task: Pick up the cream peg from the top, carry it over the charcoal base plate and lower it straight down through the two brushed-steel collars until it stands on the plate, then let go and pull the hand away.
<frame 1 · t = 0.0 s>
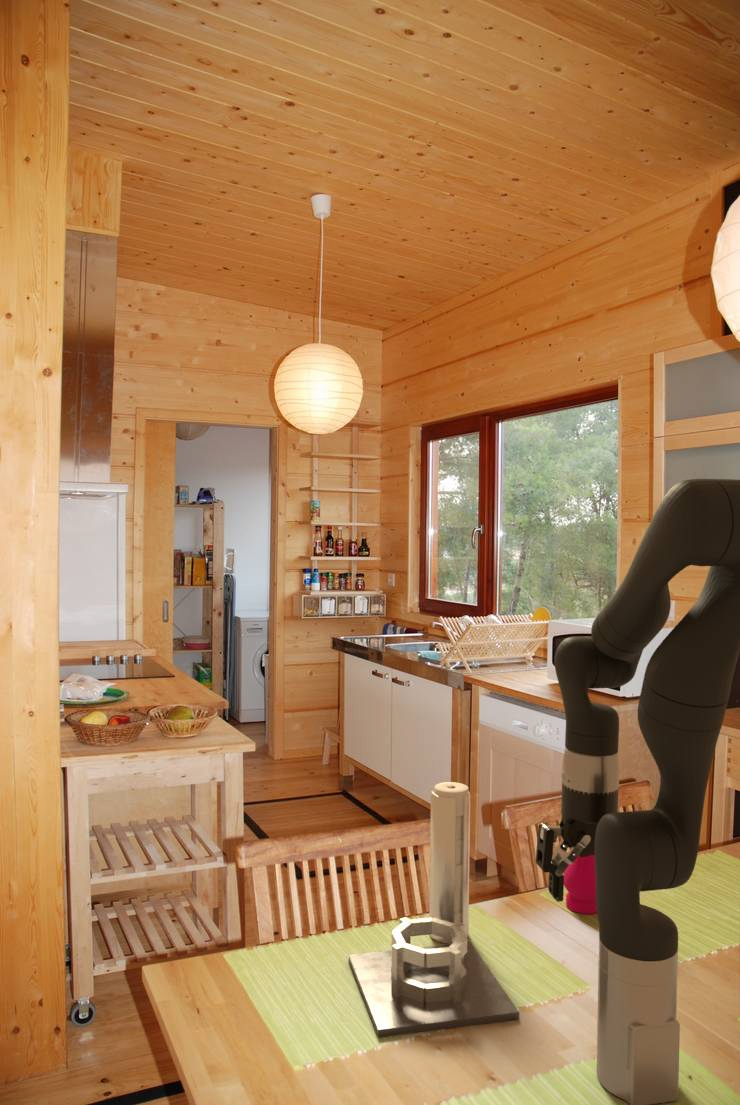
hand: (586, 896, 117), 17 cm above the table, tool pointing down, fingers open, 8 cm apart
cream peg: (448, 935, 141), on the table
pepper mill: (583, 907, 152), on the table
collar stand: (428, 988, 124), on the table
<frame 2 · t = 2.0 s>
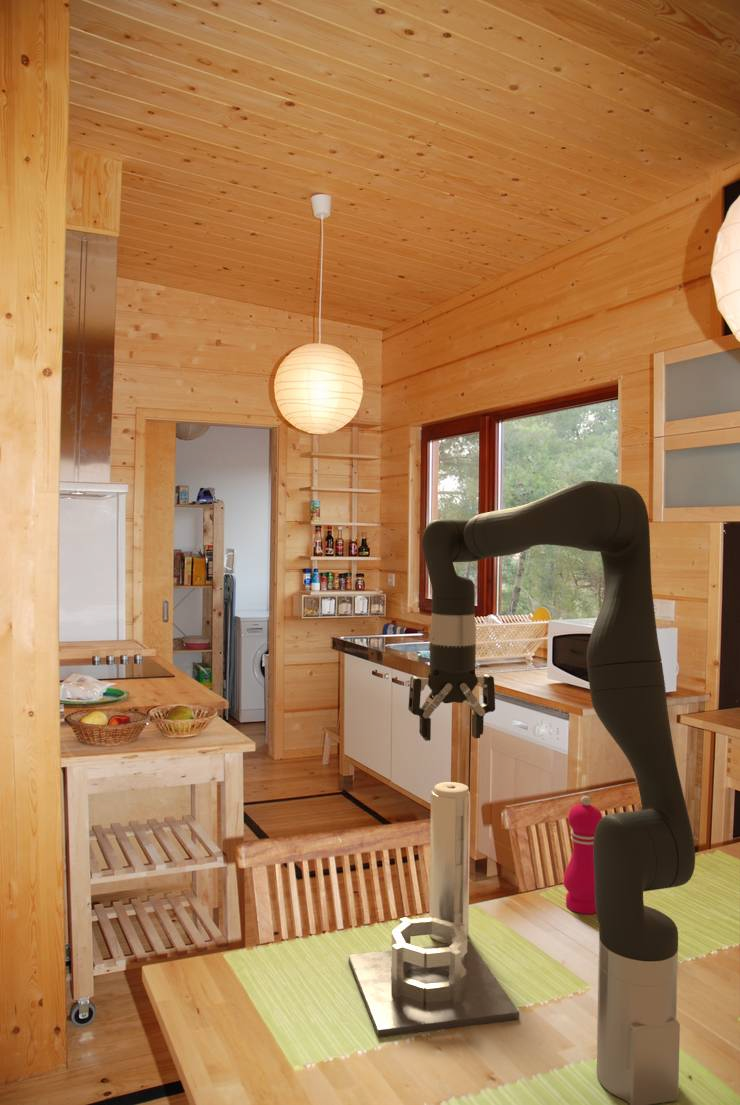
hand: (451, 738, 140), 33 cm above the table, tool pointing down, fingers open, 8 cm apart
nothing on the table moved.
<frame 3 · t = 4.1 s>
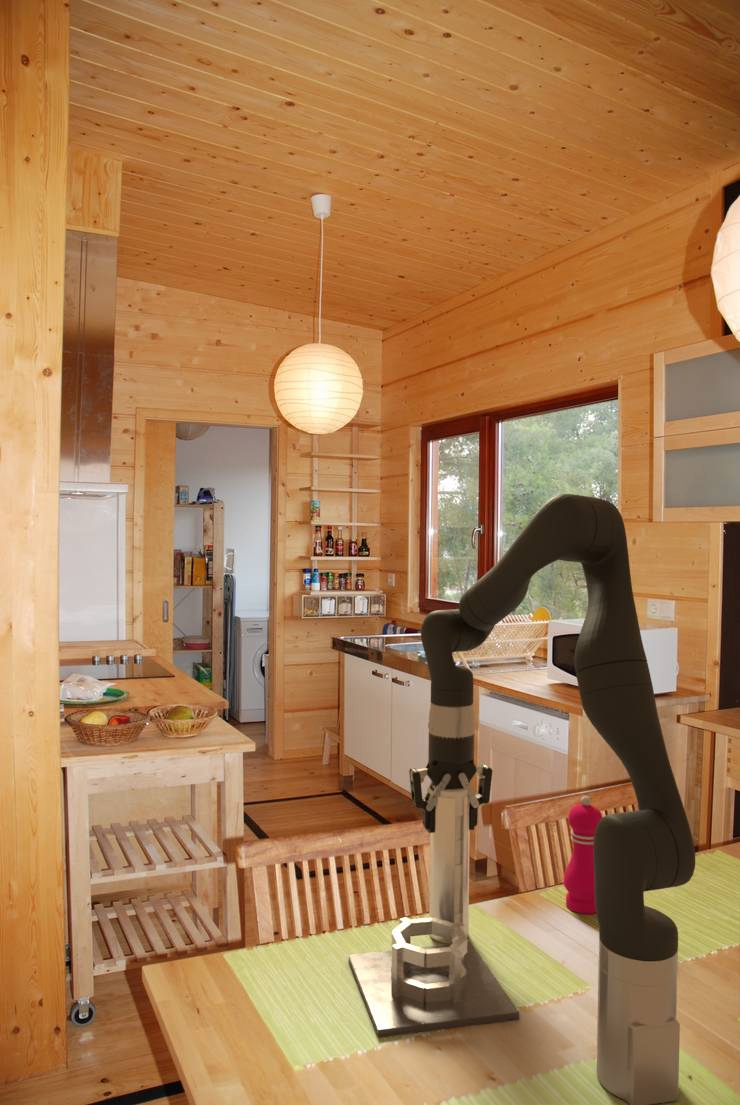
hand: (450, 829, 140), 18 cm above the table, tool pointing down, fingers closed on cream peg, 6 cm apart
cream peg: (448, 935, 141), on the table, touching gripper
everything else where it was.
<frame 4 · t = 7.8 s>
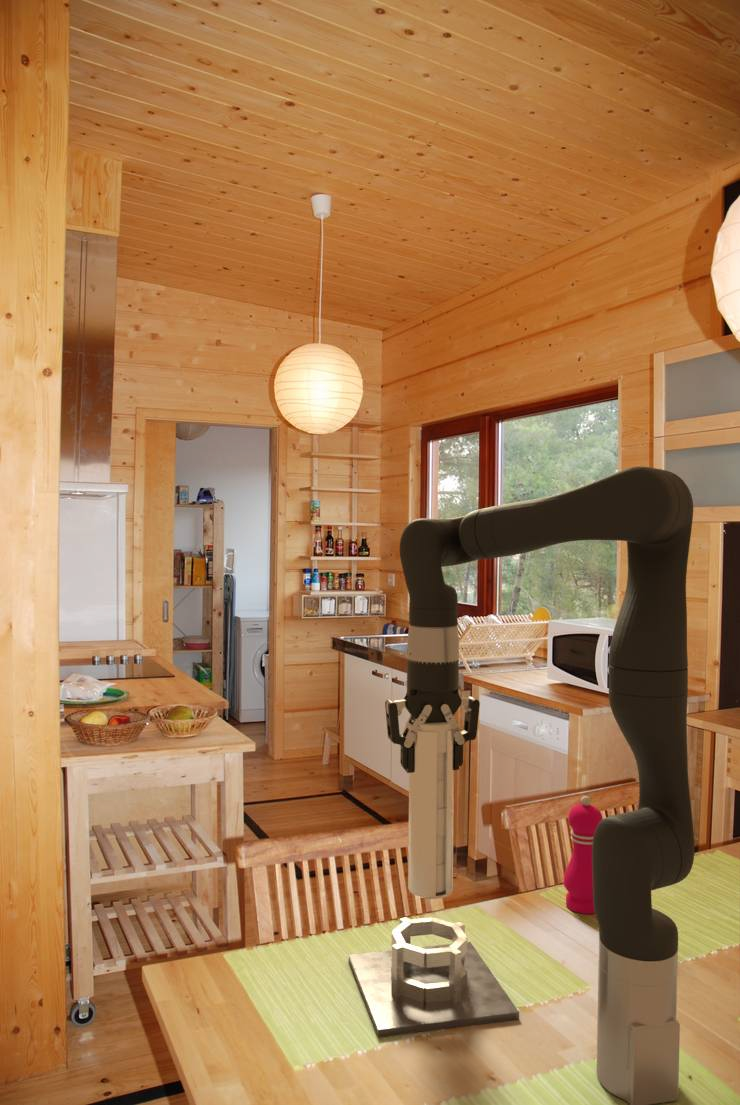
hand: (431, 769, 123), 32 cm above the table, tool pointing down, fingers closed on cream peg, 6 cm apart
cream peg: (430, 890, 124), point 15 cm above the table, touching gripper
everything else where it was.
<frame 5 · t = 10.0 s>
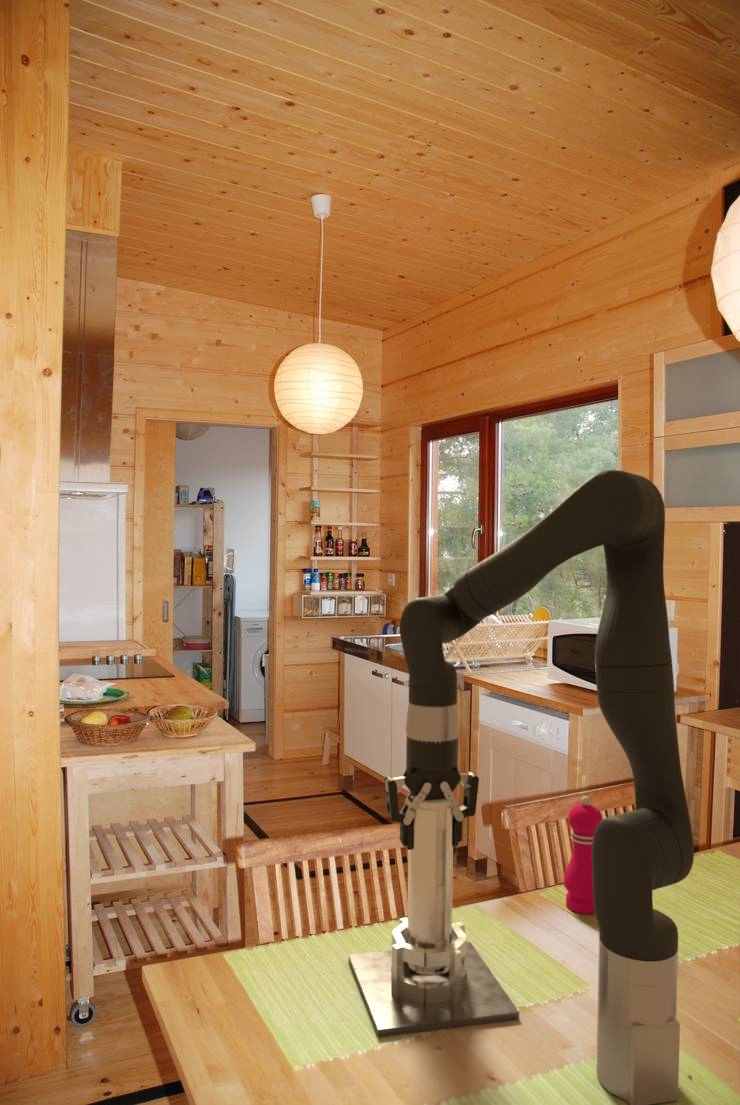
hand: (431, 845, 124), 21 cm above the table, tool pointing down, fingers closed on cream peg, 6 cm apart
cream peg: (429, 965, 124), point 3 cm above the table, touching gripper
everything else where it was.
when the fingers open (20 cm above the table, at t = 11.8 s): cream peg drops 1 cm, resting on collar stand.
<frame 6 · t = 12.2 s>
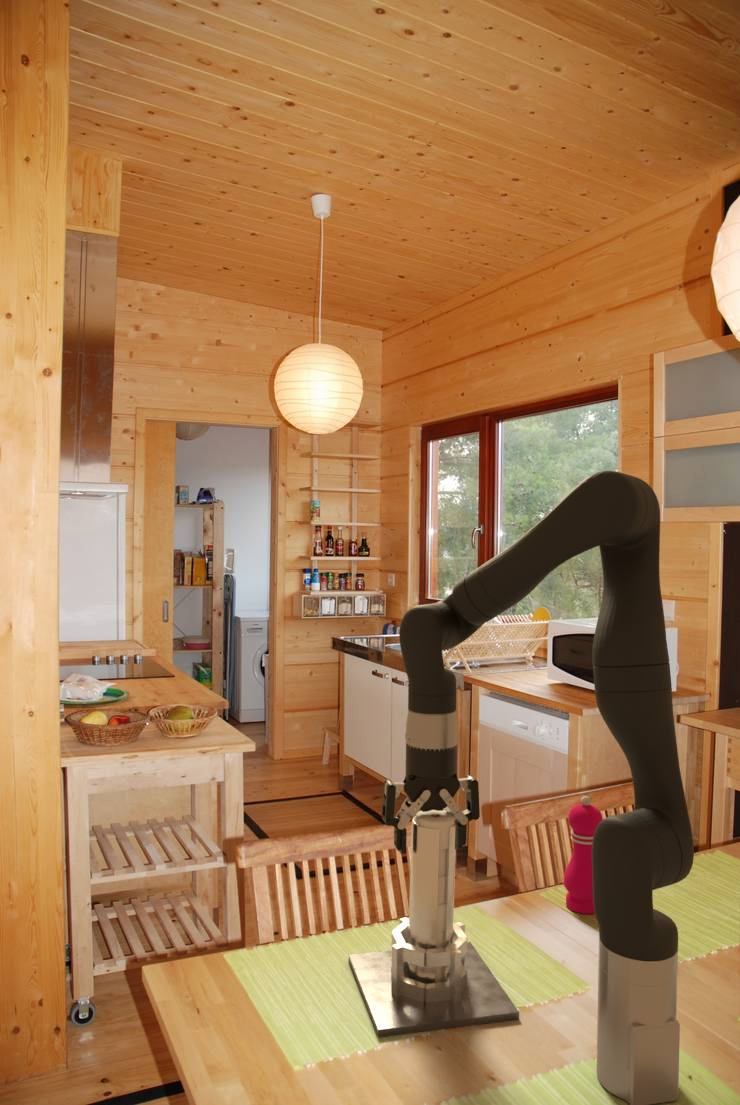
hand: (430, 850, 124), 21 cm above the table, tool pointing down, fingers open, 8 cm apart
cream peg: (429, 983, 124), point 1 cm above the table, touching collar stand
everything else where it was.
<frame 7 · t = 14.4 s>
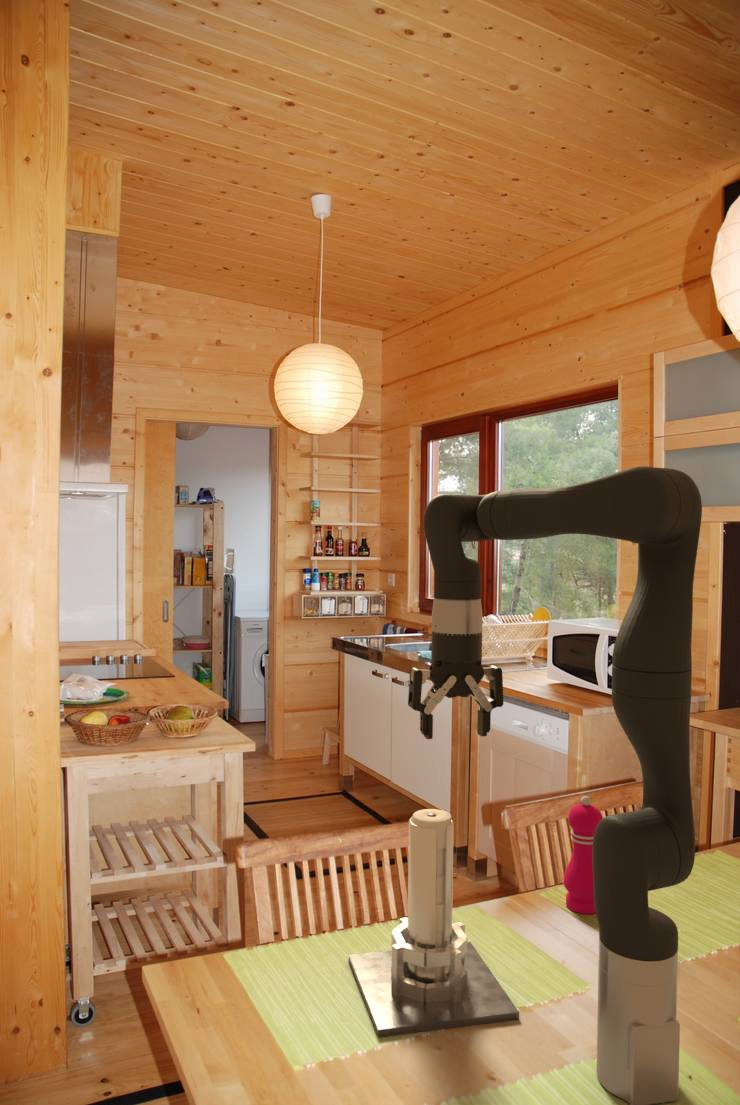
hand: (455, 736, 126), 37 cm above the table, tool pointing down, fingers open, 8 cm apart
nothing on the table moved.
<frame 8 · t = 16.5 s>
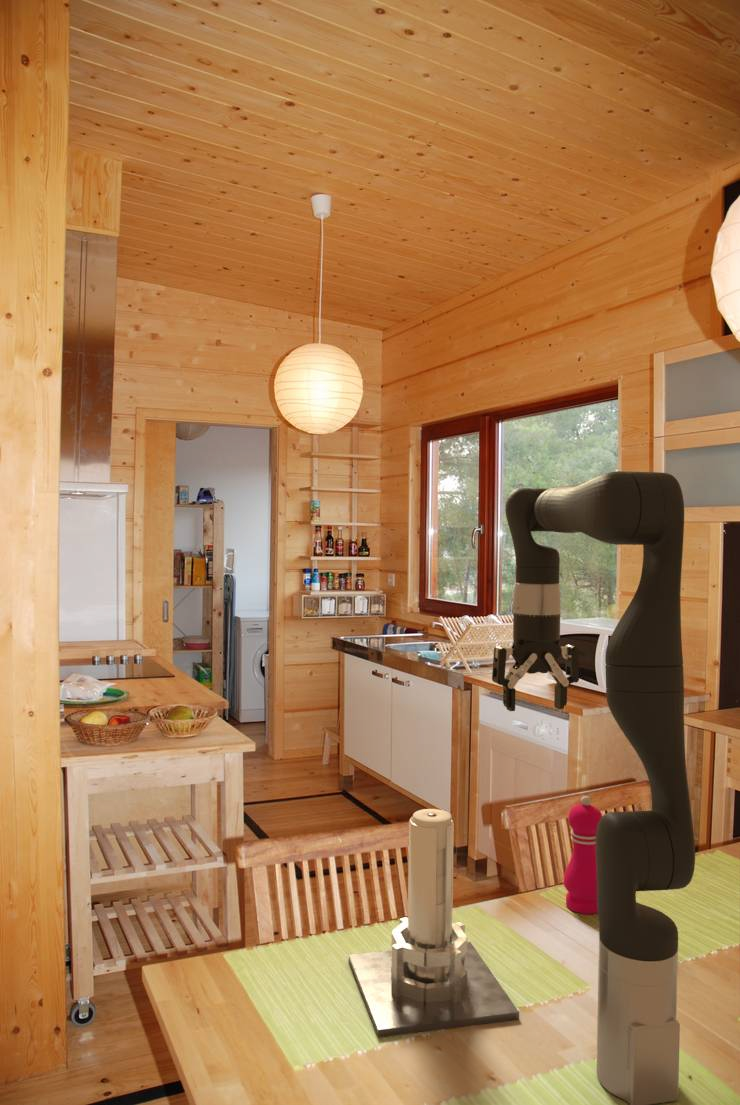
hand: (535, 709, 138), 38 cm above the table, tool pointing down, fingers open, 8 cm apart
nothing on the table moved.
at the end: cream peg 0.1 cm off-centre on the collar stand, point 0.8 cm above the collar stand's base; cream peg tilted 0°; the gripper is holding nothing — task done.
